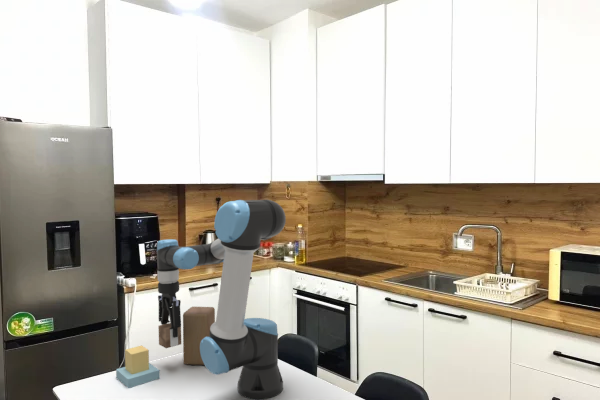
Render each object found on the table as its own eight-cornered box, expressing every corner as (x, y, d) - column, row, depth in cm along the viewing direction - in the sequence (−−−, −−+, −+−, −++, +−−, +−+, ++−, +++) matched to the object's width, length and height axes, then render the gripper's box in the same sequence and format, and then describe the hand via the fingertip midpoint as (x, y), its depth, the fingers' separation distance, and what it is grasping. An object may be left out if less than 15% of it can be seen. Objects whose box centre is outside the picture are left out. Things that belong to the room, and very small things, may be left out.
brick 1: (148, 369, 154) (148, 349, 154) (132, 374, 150) (131, 354, 150) (142, 364, 158) (141, 345, 158) (125, 369, 154) (125, 349, 154)
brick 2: (181, 344, 161) (180, 325, 161) (166, 348, 157) (165, 329, 157) (174, 340, 166) (173, 322, 166) (158, 344, 162) (158, 325, 162)
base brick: (159, 378, 154) (159, 370, 154) (128, 388, 146) (128, 379, 146) (146, 368, 162) (146, 360, 162) (116, 377, 154) (116, 369, 154)
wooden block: (215, 355, 174) (215, 306, 173) (208, 366, 164) (207, 313, 163) (191, 355, 175) (191, 305, 174) (182, 365, 165) (181, 313, 164)
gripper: (190, 283, 157) (191, 347, 157) (166, 276, 171) (168, 335, 171) (170, 286, 152) (172, 352, 152) (147, 279, 166) (149, 340, 166)
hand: (170, 343), depth 161 cm, fingers closed on brick 2, 6 cm apart
